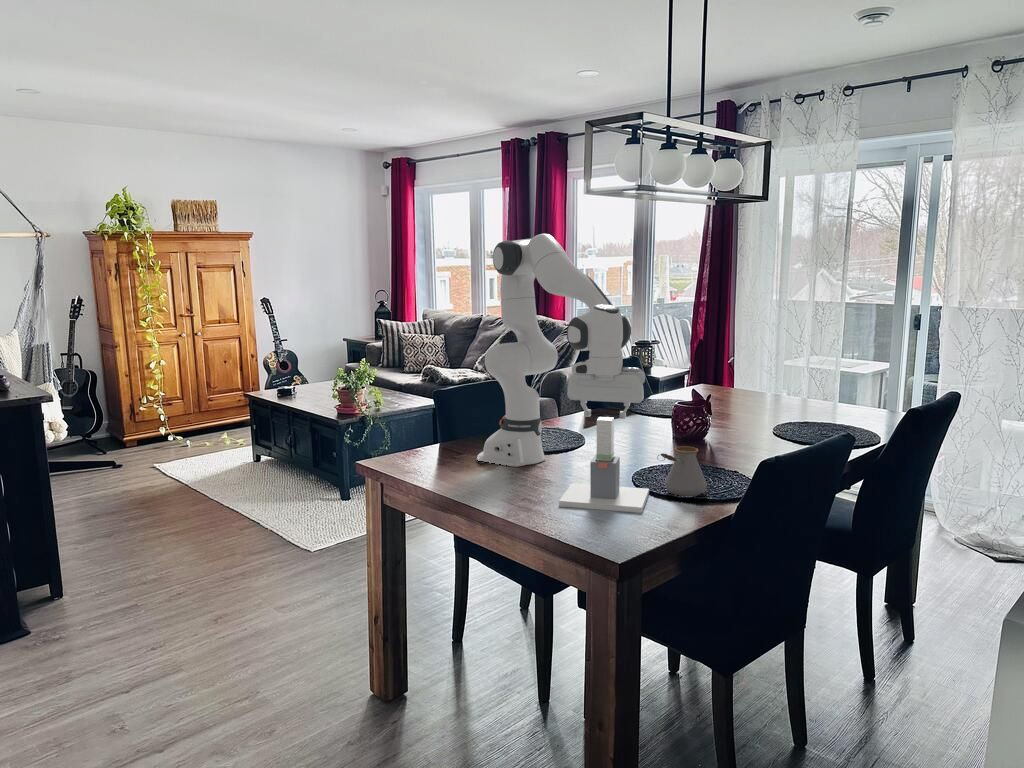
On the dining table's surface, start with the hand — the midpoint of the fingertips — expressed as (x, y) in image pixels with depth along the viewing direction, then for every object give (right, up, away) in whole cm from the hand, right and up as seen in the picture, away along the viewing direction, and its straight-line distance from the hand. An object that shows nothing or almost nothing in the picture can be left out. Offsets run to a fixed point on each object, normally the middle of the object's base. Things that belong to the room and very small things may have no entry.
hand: (605, 417), depth 197 cm
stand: (0, -23, +4) cm, 23 cm away
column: (0, -16, +3) cm, 16 cm away
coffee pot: (+20, -23, +4) cm, 31 cm away
